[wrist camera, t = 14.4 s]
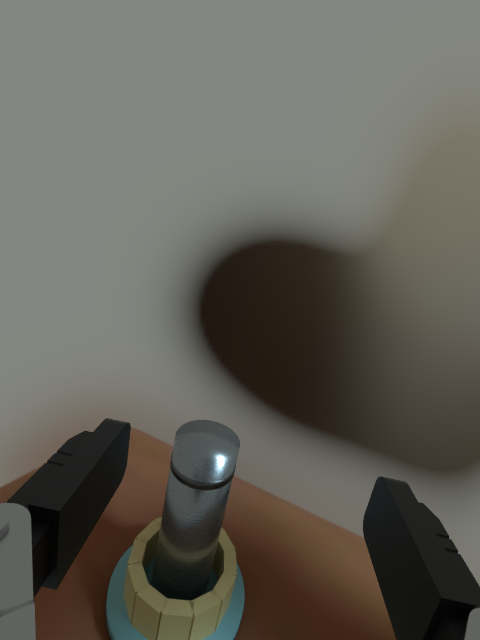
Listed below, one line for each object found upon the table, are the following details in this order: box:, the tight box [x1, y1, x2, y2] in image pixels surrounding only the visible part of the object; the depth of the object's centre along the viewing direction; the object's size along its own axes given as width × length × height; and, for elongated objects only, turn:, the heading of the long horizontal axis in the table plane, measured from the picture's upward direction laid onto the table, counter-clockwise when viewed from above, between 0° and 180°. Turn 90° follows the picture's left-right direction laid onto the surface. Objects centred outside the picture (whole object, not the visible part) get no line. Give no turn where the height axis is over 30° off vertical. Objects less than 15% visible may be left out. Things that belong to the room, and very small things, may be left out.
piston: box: [151, 420, 240, 601], centre depth 25 cm, size 5×5×14 cm
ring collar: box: [106, 517, 245, 640], centre depth 27 cm, size 11×11×4 cm
